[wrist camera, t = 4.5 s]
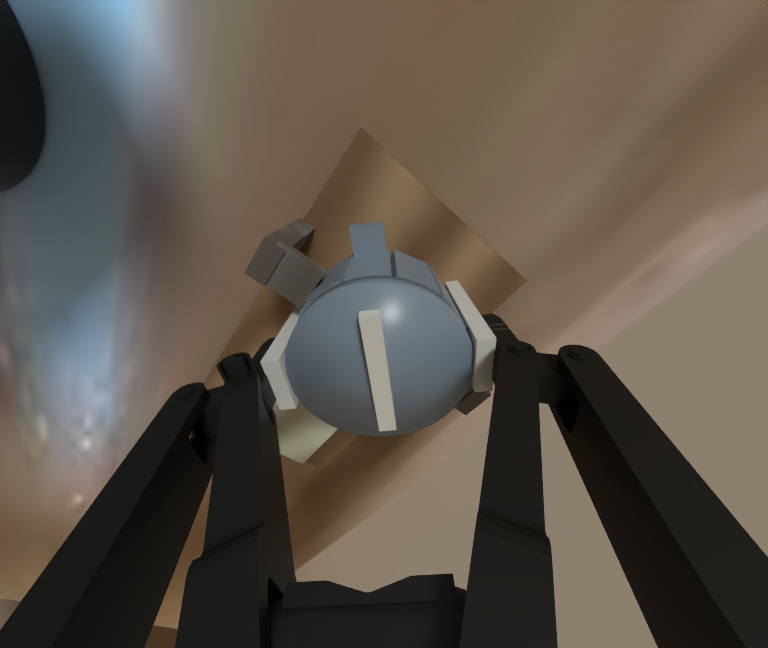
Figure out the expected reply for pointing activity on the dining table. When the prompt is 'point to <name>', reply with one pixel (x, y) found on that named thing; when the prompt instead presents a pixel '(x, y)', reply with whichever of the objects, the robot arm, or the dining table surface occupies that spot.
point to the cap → (379, 343)
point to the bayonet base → (333, 243)
